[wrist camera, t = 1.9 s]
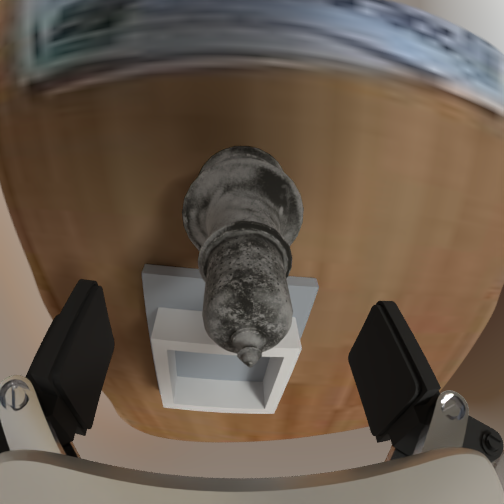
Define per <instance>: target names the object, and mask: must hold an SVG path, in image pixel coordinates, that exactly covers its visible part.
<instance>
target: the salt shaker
mask: <svg viewBox="0 0 504 504" xmlns="http://www.w3.org/2000/svg"><path fill="white" fill-rule="evenodd" d="M182 216H183V223H184V228H185V230H186V232H187V235H188V237H189V239H190V240H191V242H192V243H193V244H194V245H195V246H196V248H197V249H198V250H199V251H200V252H199V257H198V267H199V272H200V274H201V276H202V279H203V281H204V282H205V292H204V301H203V310H202V317H203V323H204V328H205V330H206V332H207V334H208V336H209V337H210V338H211V339H212V340H213V341H214V342H215V343H216V344H217V345H218V346H219V347H221V348H223V349H225V350H226V351H229V352H232V353H236V354H237V357H238V358H239V359H240V360H241V361H242V362H243V363H244V364H245V365H247V366H248V367H249V368H251V367H253V365H254V364H256V362H257V361H258V360H259V359H260V358H261V357H262V352H264V351H267V350H269V349H271V348H273V347H274V346H276V345H277V344H279V342H280V341H281V340H282V339H283V338H284V337H285V336H286V335H287V333H288V331H289V329H290V327H291V324H292V315H293V308H292V303H291V299H290V294H289V289H288V284H287V280H286V279H287V277H288V275H289V273H290V270H291V267H292V255H291V250H290V245H291V244H292V243H293V241H294V240H295V239H296V237H297V236H298V233H299V230H300V228H301V225H302V222H303V204H302V200H301V195H300V193H299V191H298V189H297V188H296V186H295V184H294V182H293V181H292V180H291V179H290V178H289V177H288V176H287V175H286V174H285V173H284V171H283V170H282V168H281V166H280V164H279V163H278V162H277V161H276V160H275V159H274V158H273V157H272V156H271V155H270V154H268V153H266V152H264V151H262V150H261V149H258V148H254V147H250V146H234V147H230V148H227V149H224V150H221V151H220V152H218V153H216V154H215V155H213V156H212V157H211V158H210V159H209V160H208V161H207V162H206V163H205V164H204V166H203V168H202V169H201V171H200V173H199V176H198V177H197V178H196V180H195V181H194V182H193V183H192V184H191V186H190V188H189V190H188V192H187V194H186V196H185V198H184V204H183V210H182Z"/></svg>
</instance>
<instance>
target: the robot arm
mask: <svg viewBox="0 0 504 504" xmlns="http://www.w3.org/2000/svg"><path fill="white" fill-rule="evenodd" d="M113 350H114V338H113V334H112V330H111V326H110V322H109V317H108V313H107V308H106V304H105V299H104V294H103V289H102V287H101V286H98V284H97V282H96V281H92V280H84V279H80V280H79V281H78V283H77V284H76V286H75V288H74V290H73V291H72V293H71V295H70V297H69V298H68V300H67V302H66V304H65V306H64V307H63V309H62V311H61V313H60V314H59V315H57V316H56V317H55V318H54V320H53V322H52V324H51V325H50V327H49V329H48V331H47V333H46V335H45V337H44V339H43V341H42V343H41V345H40V347H39V349H38V351H37V353H36V355H35V357H34V360H33V362H32V364H31V366H30V368H29V371H28V373H27V375H26V377H23V376H19V375H13V376H9V377H7V378H6V379H4V380H3V381H2V382H1V383H0V504H504V450H503V441H502V438H501V436H500V435H499V433H498V432H496V431H495V430H494V429H492V428H490V427H489V426H487V425H485V424H483V423H481V422H480V421H478V420H476V419H474V418H472V417H471V416H469V408H468V405H467V403H466V401H465V399H464V398H463V397H462V396H461V395H460V394H458V393H457V392H454V391H444V392H442V393H441V394H440V393H439V389H440V388H441V387H440V385H439V383H438V381H437V379H436V377H435V375H434V373H433V371H432V369H431V367H430V365H429V363H428V361H427V359H426V357H425V355H424V354H423V352H422V350H421V348H420V346H419V344H418V342H417V340H416V339H415V337H414V335H413V333H412V331H411V330H410V328H409V326H408V324H407V322H406V321H405V319H404V317H403V315H402V314H401V312H400V310H399V308H398V307H397V305H396V303H395V302H393V301H378V302H377V303H376V305H373V307H372V308H371V310H370V313H369V315H368V317H367V319H366V321H365V323H364V325H363V327H362V329H361V331H360V333H359V335H358V337H357V339H356V341H355V343H354V345H353V347H352V349H351V351H350V353H349V356H348V360H349V364H350V367H351V370H352V373H353V376H354V379H355V382H356V385H357V389H358V392H359V395H360V398H361V401H362V404H363V407H364V411H365V414H366V417H367V420H368V424H369V427H370V430H371V433H372V435H373V436H376V439H377V442H383V441H388V440H390V439H391V442H392V447H391V449H390V451H389V453H388V455H387V458H386V460H385V462H382V463H378V464H373V465H368V466H363V467H358V468H353V469H348V470H341V471H334V472H328V473H320V474H311V475H302V476H291V477H277V478H254V479H253V478H250V479H249V478H247V479H235V478H230V479H229V478H203V477H189V476H178V475H169V474H160V473H153V472H146V471H139V470H134V469H128V468H122V467H117V466H112V465H107V464H102V463H98V462H93V461H89V460H85V459H81V457H80V455H79V454H78V452H77V450H76V448H75V446H74V444H73V442H72V441H73V440H74V435H75V433H76V434H80V435H84V436H85V435H86V431H87V429H91V427H92V425H93V421H94V417H95V413H96V409H97V405H98V401H99V397H100V394H101V390H102V387H103V383H104V380H105V376H106V373H107V370H108V366H109V363H110V360H111V357H112V353H113Z"/></svg>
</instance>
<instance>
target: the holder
mask: <svg viewBox="0 0 504 504" xmlns="http://www.w3.org/2000/svg"><path fill="white" fill-rule="evenodd" d="M286 280H287V284H288V289H289V294H290V299H291V303H292V308H293V315H292V324H291V327H290V329H289V331H288V333H287V335H286V336H285V337H284V338H283V339H282V340H281V341H280V342H279V344H277V345H276V346H274V347H273V348H271V349H269V350H267V351H264V352H262V357H261V358H260V359H259V360H258V361H257V362H256V364H254V365H253V367H251V368H249V367H248V366H247V365H245V364H244V363H243V362H242V361H241V360H240V359H239V358H238V357H237V354H236V353H232V352H229V351H226V350H225V349H223V348H221V347H219V346H218V345H217V344H216V343H215V342H214V341H213V340H212V339H211V338H210V337H209V336H208V334H207V332H206V330H205V328H204V323H203V317H202V310H203V301H204V292H205V282H204V281H203V279H202V276H201V274H200V272H199V269H193V268H182V267H171V266H160V265H150V264H145V265H144V268H143V271H142V281H143V291H144V299H145V307H146V315H147V322H148V329H149V336H150V342H151V348H152V354H153V360H154V365H155V371H156V376H157V381H158V386H159V391H160V394H161V397H162V402H163V407H166V408H175V409H184V410H195V411H208V412H224V413H254V414H274V412H275V410H276V408H277V405H278V403H279V401H280V399H281V396H282V394H283V392H284V390H285V387H286V385H287V383H288V380H289V378H290V376H291V373H292V371H293V369H294V366H295V364H296V361H297V359H298V356H299V354H300V352H301V349H302V348H301V343H300V338H301V336H302V333H303V330H304V328H305V325H306V322H307V320H308V317H309V314H310V311H311V308H312V306H313V303H314V300H315V297H316V294H317V291H318V288H319V286H318V283H317V280H316V278H306V277H292V276H288V277H287V279H286Z"/></svg>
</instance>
